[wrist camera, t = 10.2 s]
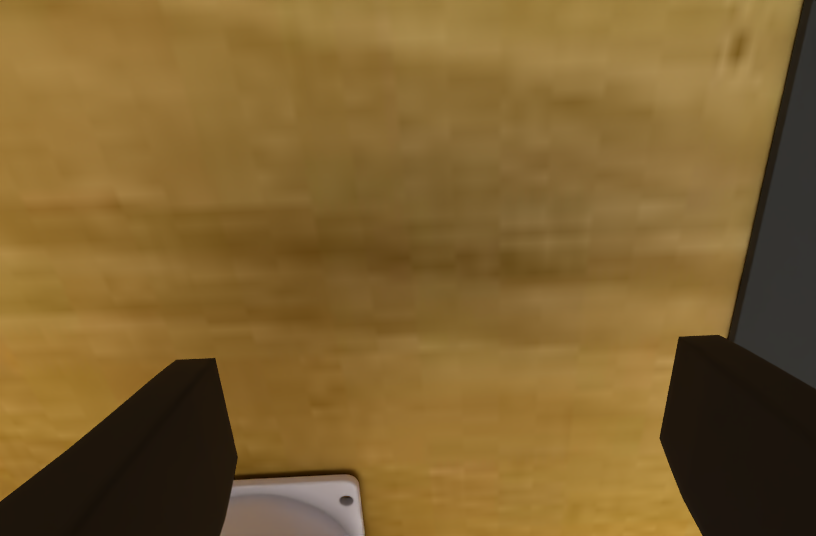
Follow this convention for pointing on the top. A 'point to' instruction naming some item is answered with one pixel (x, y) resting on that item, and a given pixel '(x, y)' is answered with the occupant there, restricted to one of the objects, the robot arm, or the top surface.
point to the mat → (786, 229)
